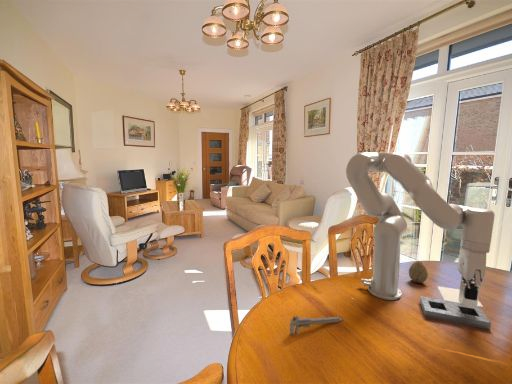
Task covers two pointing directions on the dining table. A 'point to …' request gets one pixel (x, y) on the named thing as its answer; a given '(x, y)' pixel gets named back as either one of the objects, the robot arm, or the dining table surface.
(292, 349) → the dining table surface
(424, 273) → the decorative egg
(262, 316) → the dining table surface
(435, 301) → the block with square recesses
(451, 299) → the tile
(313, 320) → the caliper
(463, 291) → the steel block
